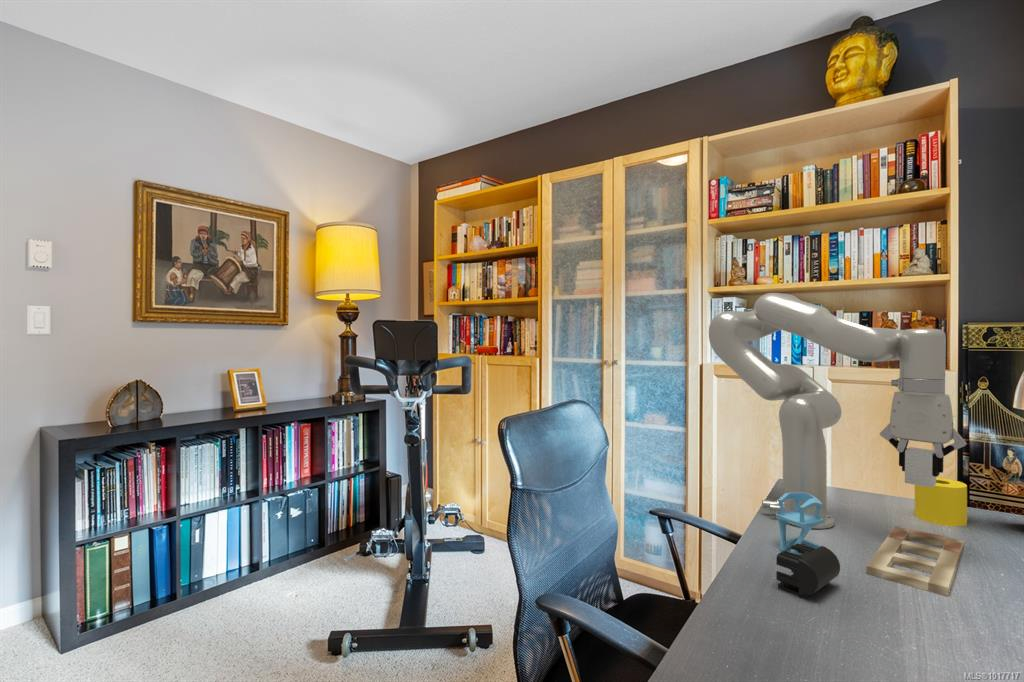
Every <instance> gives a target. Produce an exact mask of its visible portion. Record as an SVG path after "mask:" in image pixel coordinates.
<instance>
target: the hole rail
mask: <svg viewBox="0 0 1024 682" xmlns="http://www.w3.org/2000/svg"><path fill="white" fill-rule="evenodd" d="M909 540H913V541H917V542H921V543H916V542H913V541H909ZM922 543H926V544H922ZM927 544H930V545H933V546H930V545H927ZM935 546H940V547H942V548H940V547H939V548H938V547H935ZM964 548H965V540H961V539H958V538H957V539H956V538H953V537H949V536H943V535H940V534H934V533H930V532H926V531H925V532H924V531H921V530H917V529H911V528H906V527H902V526H897V525H895V526H894V527H893V529H891V531H890V533H889V534H888V535H887V537H886V538H885V540H884V541H883V542H882V543H881V545H880V547H879V548H878V549H877V550H876V552H875V553H874V555H873V556H872V557H871V559H870V560H869V561H868V563H867V564H866V567H865V568H866V572H865V573H866V574H867V575H870V576H874V577H876V578H881V579H885V580H888V581H892V582H896V583H899V584H903V585H906V586H909V587H913V588H917V589H921V590H925V591H928V592H931V591H932V593H934V594H935V593H936V594H938V593H939V594H938V595H941V596H945V595H946V596H945V597H949V594H950V593H949V592H951V590H952V586H953V584H954V580H955V576H956V573H957V570H958V567H959V565H960V560H961V558H962V555H963V552H964ZM901 551H902V552H906V553H911V554H915V555H919V556H923V557H927V558H931V559H934V560H937V561H932V560H927V559H923V558H920V557H916V556H911V555H907V554H904V553H901ZM893 565H897V566H902V567H905V568H909V569H913V570H917V571H919V572H923V573H928V574H930V577H929V576H925V575H921V574H917V573H913V572H909V571H906V570H901V569H898V568H893V567H892V566H893ZM950 589H951V590H950Z"/></svg>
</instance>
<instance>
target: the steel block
mask: <svg viewBox="0 0 1024 682" xmlns="http://www.w3.org/2000/svg"><path fill="white" fill-rule="evenodd" d="M933 457H935V450H934V449H928V448H927V449H926V448H920V447H911V446H909V447H907V449H906V450H905V471H904V484H909V485H914V486H915V485H919V486H925V487H930V488H932V487H933V486H934V485H935V484H936V477H935V476H933Z"/></svg>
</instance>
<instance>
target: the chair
mask: <svg viewBox="0 0 1024 682" xmlns="http://www.w3.org/2000/svg"><path fill="white" fill-rule="evenodd" d="M780 497H781V498H780V499H779V498H778V499H777V500H778V502H779V505H780V509H781V510H780V513H779V514H776V513H775V518H776V519H777V520H778V522H779V523H778V525H779V550H780V551H781V552H783V551H787V550H789V549H790V551H789V552H790V553H794V554H801V553H798V551H796V550H793V549H791V546H793V545H795V544H797V543H798V544H801V545H805V546H808V547H811V548H815V549H817V548H819V547H821V546H822V545H819V544H817V543H814V542H812V541H809V540H808V539H807V540H806V539H805V538H806V537H807V535H808V533H809V532H810V531H811V530H812V529H814V528H813V527H815V526H817V525H820V524H824V519H821V518H820V516H819V511H820V508H821V506H822V503H821V502H820V501H819V500H818V499H817V498H816V497H814V496H812V495H811V494H808V493H804V492H799V493H797V492H791V493H786V494H784V495H783V494H782V495H781V496H780ZM788 498H792V499H794V500H795V511H791V512H787V513H785V509H784V506H783V504H782V503H783V502H784V501H785V500H786V499H788ZM799 501H805V503H804V504H803V505H802V506H800V510H801V511H799ZM811 506H816V507H817V509H816V510H815V517H814V516H811V515H808V514H805V513H804V511H805V510H806V509H807V508H809V507H811ZM787 522H790V523H792V524H794V525H793V526H795V525H796V527H798V528H801V532H800V534H799V536H793V537H791V538H789V539H788V540H787V524H788V523H787Z"/></svg>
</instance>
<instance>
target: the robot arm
mask: <svg viewBox="0 0 1024 682" xmlns="http://www.w3.org/2000/svg"><path fill="white" fill-rule="evenodd" d="M780 331H784V332H787V333H790V334H792V335H796V336H797V337H798V336H799V337H801V338H803V339H807V340H808V341H810V342H812V343H814V344H816V345H817V346H818V345H819V346H820V347H822V348H825V349H826V350H829V351H832V352H834V353H838V354H840V355H843V356H846V357H849V358H850V359H853V360H854V359H855V360H857V361H861V362H864V363H865V362H867V363H877V362H890V361H891V362H894V361H899V377H898V379H891V381H890V384H891V385H890V386H891V387H897V388H898V391H894V393H893V397H892V402H891V408H890V417H889V419H890V420H889V423H888V424H887V425H886V426H885V427H884V428H883V430H881V431H880V432H879V435H880V437H882V438H883V439H884V440H886V441H887V442H889V444H890V445H892V446H893V447H894V449H896V451H897V452H898V466H899V467H901V471H902V472H905V450H906V449H908V446H909V442H910V441H914V442H921V443H927V444H928V443H929V444H930V443H931V444H932V446H933V450H935V457H933V476H935V477H939V475H940V474H942V473H943V472H944V457H945V456H947V455H949V454H950V453H952V452H954V451H956V450H959V449H961V448H963V447H966V446H967V441H966V440H965V439H964V438H963V437H962V436H961V434H960V433H959V432H958V431H957V430H956V429H955V427H954V416H953V415H954V414H953V407H952V402H951V397H950V394H946V364H947V363H946V360H947V359H946V357H947V356H946V354H947V353H946V352H947V351H946V350H947V338H946V337H947V336H946V333H945V332H944V330H942V329H938V328H909V329H896V328H889V327H888V328H886V327H870V326H866V325H862V324H859V323H856V322H853V321H849V320H847V319H843V318H841V317H839V316H836V315H834V314H833V313H831V312H830V310H829V309H828V308H826V307H824V306H822V305H818V304H814V303H810V302H807V301H803V300H801V299H799V298H798V297H797V296H795V295H794V294H789V293H780V292H769V293H765V294H762V295H761V296H760V297H758V299H756V301H755V303H754V305H753V309H752V310H750V311H741V310H727V311H723V312H720V313H718V314H717V315H714V317H713V318H712V320H711V321H710V323H709V325H708V340H709V343H710V346H711V349H712V350H713V352H714V354H716V356H717V357H718V358H719V359H720V360H721V361H722V362H723V363H724V364H726V366H727V367H729V368H730V369H731V370H732V371H733V372H734V373H735V374H736V375H737V376H738V377H739V378H740V379H741V380H742V381H744V382H745V384H746V385H748V386H749V388H751V389H752V390H753V391H754V392H755V393H756V394H757V395H758V396H759V397H761V399H763V400H766V401H770V402H771V401H772V402H773V401H774V402H775V401H783V402H782V403H781V404H780V407H779V411H778V419H779V426H780V432H781V443H782V496H783V495H784V494H786V493H791V492H797V493H799V492H804V493H808V494H811V495H812V496H814V497H816V498H817V499H818V500H819V501H820V502H821V503H822V506H821V508H820V511H819V516H820V518H821V519H824V524H820V525H817V526H815V527H813V528H812V529H816V530H817V529H819V530H821V529H824V530H825V529H828V528H832V527H833V526H835V519H834V518H833V517H832V516H831V515H829V514H827V512H828V511H827V510H828V509H827V508H828V506H827V505H828V504H827V499H828V498H827V497H828V496H827V494H828V492H827V491H828V490H827V488H828V487H827V486H828V485H827V482H828V481H827V475H828V474H827V473H828V472H827V469H828V467H827V463H828V462H827V460H828V459H827V446H826V445H827V444H826V440H825V439H826V438H825V436H824V430H823V429H828V428H831V427H833V426H834V425H836V424H837V423H838V422H839V421H840V419H841V417H842V407H841V404H840V402H839V401H838V399H837V398H836V397H835V396H834V395H833V394H832V393H831V392H830V391H829V390H827V389H826V388H825V387H823V385H821V384H820V383H819V382H817V381H816V380H815V379H814V377H811V376H810V375H809V374H808V373H807V372H805V371H804V370H803V369H802V368H800V367H798V366H796V365H793V364H788V363H787V364H786V363H780V364H778V363H775V362H773V361H771V360H770V359H769V358H768V357H767V356H765V355H764V354H763V353H762V352H761V351H760V350H758V348H756V347H754V346H753V345H751V344H750V343H748V342H751V341H755V340H756V341H757V340H760V339H762V338H765V337H767V336H769V335H771V334H775V333H776V332H780ZM952 440H953V442H952V443H951V444H948V443H950V442H951V441H952ZM944 444H948V445H944ZM782 496H779V498H778V499H780V498H781V497H782ZM778 499H775V500H769V499H762V500H761V506H762V508H763V509H769V510H770V511H774V512H775V515H776V514H779V513H780V510H781V509H780V505H779V502H778ZM804 503H805V501H799V511H801V510H800V506H802V505H803V504H804ZM782 504H783V506H784V509H785V513H787V512H791V511H795V500H794V499H792V498H788V499H786V500H785V501H784V502H783V503H782ZM816 509H817V507H816V506H811V507H809V508H807V509H806V510H805V511H804V513H805V514H808V515H811V516H814V517H815V510H816ZM786 524H789V525H791V524H792V523H790V522H787V523H786ZM792 526H796V525H794V524H792ZM796 527H797V526H796Z"/></svg>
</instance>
